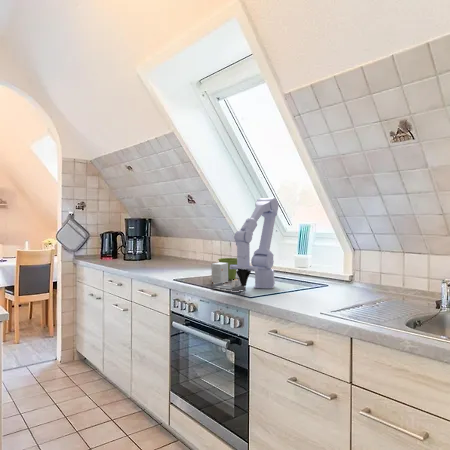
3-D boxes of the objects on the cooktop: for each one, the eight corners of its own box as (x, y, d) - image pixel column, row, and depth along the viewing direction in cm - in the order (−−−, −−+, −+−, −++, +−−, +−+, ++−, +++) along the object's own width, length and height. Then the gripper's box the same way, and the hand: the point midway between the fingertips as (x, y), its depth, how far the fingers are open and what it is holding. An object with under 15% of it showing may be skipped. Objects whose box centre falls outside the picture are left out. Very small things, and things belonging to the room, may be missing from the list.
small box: (219, 281, 221) (219, 262, 221) (228, 282, 218) (228, 262, 218) (211, 284, 214) (211, 263, 214) (220, 285, 212) (220, 264, 211)
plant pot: (243, 278, 231) (243, 258, 231) (232, 281, 222) (231, 260, 221) (225, 276, 238) (225, 257, 238) (213, 279, 228) (213, 259, 228)
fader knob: (239, 287, 195) (239, 279, 195) (235, 288, 193) (235, 280, 193) (235, 286, 196) (235, 278, 196) (231, 287, 194) (231, 279, 194)
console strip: (245, 290, 196) (245, 284, 196) (235, 292, 190) (235, 287, 190) (222, 287, 205) (222, 281, 205) (211, 289, 198) (211, 284, 198)
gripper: (225, 256, 193) (225, 285, 193) (251, 258, 184) (251, 288, 184) (234, 254, 198) (234, 283, 199) (260, 256, 189) (260, 286, 190)
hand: (243, 285), depth 192 cm, fingers closed
